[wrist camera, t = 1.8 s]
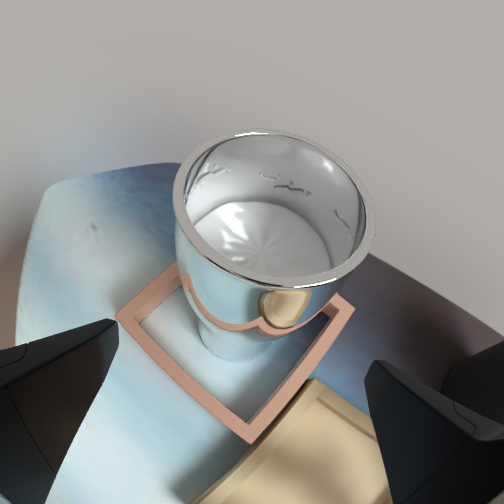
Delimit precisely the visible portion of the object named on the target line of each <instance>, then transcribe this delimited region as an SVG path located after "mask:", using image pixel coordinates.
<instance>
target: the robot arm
mask: <svg viewBox="0 0 504 504" xmlns="http://www.w3.org/2000/svg"><path fill="white" fill-rule="evenodd" d="M118 346H119V331H118V323H117V321H115V320H111V319H107V318H106V319H103V320H100V321H96V322H93V323H90V324H87V325H84V326H81V327H78V328H74V329H71V330H68V331H65V332H62V333H58V334H55V335H52V336H49V337H45V338H42V339H39V340H36V341H32V342H29V343H28V344H27V343H25V344H22V345H19V346H15V347H12V348H8V349H4V350H0V504H45V501H46V499H47V497H48V494H49V492H50V489H51V487H52V485H53V482H54V480H55V478H56V475H57V473H58V471H59V469H60V466H61V464H62V462H63V460H64V458H65V456H66V454H67V451H68V449H69V447H70V445H71V443H72V441H73V439H74V437H75V435H76V433H77V431H78V429H79V427H80V425H81V423H82V421H83V419H84V417H85V416H86V414H87V412H88V410H89V408H90V406H91V404H92V402H93V400H94V399H95V397H96V395H97V393H98V391H99V389H100V388H101V386H102V384H103V382H104V380H105V378H106V375H107V373H108V370H109V368H110V366H111V363H112V361H113V358H114V356H115V354H116V351H117V349H118ZM364 384H365V389H366V395H367V400H368V406H369V411H370V416H371V420H372V424H373V427H374V431H375V434H376V438H377V441H378V445H379V449H380V452H381V456H382V460H383V464H384V468H385V472H386V476H387V480H388V484H389V489H390V493H391V497H392V502H393V504H504V425H501V424H499V423H497V422H494V421H492V420H490V419H488V418H486V417H483V416H481V415H479V414H477V413H475V412H473V411H471V410H469V409H467V408H465V407H464V406H462V405H460V404H458V403H456V402H455V401H452V400H451V399H449V398H448V397H446V396H444V395H442V394H441V393H439V392H437V391H435V390H434V389H432V388H430V387H429V386H427V385H425V384H423V383H422V382H420V381H418V380H417V379H415V378H413V377H412V376H410V375H408V374H406V373H405V372H403V371H401V370H400V369H398V368H396V367H395V366H393V365H391V364H390V363H388V362H386V361H385V360H375V361H373V362H372V364H371V366H370V368H369V370H368V372H367V374H366V377H365V380H364Z"/></svg>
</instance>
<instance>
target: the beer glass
mask: <svg viewBox="0 0 504 504" xmlns="http://www.w3.org/2000/svg"><path fill="white" fill-rule="evenodd" d="M173 207H174V235H175V252H176V259H177V266H178V272H179V276H180V280H181V283H182V286H183V290H184V293H185V295H186V298H187V300H188V302H189V303H190V305H191V307H192V308H193V310H194V312H195V313H196V315H197V316H198V330H199V334H200V337H201V339H202V341H203V343H204V344H205V346H206V347H207V348H208V349H209V350H210V351H211V352H212V353H213V354H215V355H216V356H218V357H220V358H222V359H224V360H227V361H232V362H244V361H249V360H252V359H255V358H257V357H259V356H260V355H262V354H263V353H264V352H265V351H266V350H267V349H268V348H269V347H270V345H271V344H272V342H273V341H276V340H279V339H281V338H283V337H286V336H288V335H290V334H292V333H294V332H296V331H297V330H299V329H300V328H301V327H303V326H304V325H305V324H307V323H308V322H309V321H311V320H312V319H313V318H314V317H316V316H317V315H318V314H319V313H320V312H321V311H322V309H323V308H324V307H325V306H326V305H327V304H328V303H329V302H330V301H331V300H332V299H333V298H334V296H335V295H336V294H337V292H338V291H339V290H340V289H341V287H342V286H343V285H344V283H345V282H346V281H347V279H348V278H349V276H350V275H351V274H352V272H353V271H354V269H355V268H356V267H358V266H359V264H360V263H361V262H362V261H363V260H364V258H365V257H366V255H367V254H368V252H369V250H370V247H371V246H372V242H373V240H374V236H375V229H376V228H375V227H376V218H375V211H374V206H373V203H372V200H371V197H370V195H369V193H368V190H367V188H366V187H365V185H364V183H363V182H362V180H361V179H360V177H359V176H358V175H357V173H356V172H355V171H354V170H353V169H352V168H351V167H350V166H349V165H348V164H347V163H346V162H345V161H344V160H343V159H342V158H340V157H339V156H338V155H336V154H335V153H334V152H332V151H331V150H329V149H328V148H326V147H324V146H323V145H321V144H319V143H317V142H315V141H313V140H310V139H308V138H306V137H303V136H300V135H297V134H294V133H290V132H286V131H281V130H273V129H257V128H256V129H242V130H237V131H231V132H228V133H224V134H221V135H218V136H216V137H214V138H212V139H210V140H208V141H206V142H204V143H203V144H201V145H200V146H198V147H197V148H196V149H195V150H194V151H193V152H192V153H190V155H189V156H188V157H187V158H186V159H185V160H184V162H183V163H182V165H181V166H180V168H179V170H178V172H177V175H176V178H175V181H174V186H173Z"/></svg>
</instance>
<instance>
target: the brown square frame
mask: <svg viewBox="0 0 504 504" xmlns="http://www.w3.org/2000/svg"><path fill="white" fill-rule="evenodd" d="M181 284H182V283H181V280H180V276H179V272H178V266H177V260H176V261H175V262H174V263H172V264H171V265H170V266H169V267H168V268H167V269H166V270H164V271H163V272H162V273H161V274H160V275H159V276H158V277H157V278H155V279H154V280H153V281H152V282H151V283H150V284H149V285H148V286H146V287H145V288H144V289H143V290H142V291H141V292H140V293H139V294H138V295H136V296H135V297H134V298H133V299H132V300H131V301H130V302H129V303H128V304H127V305H126V306H124V307H123V308H122V309H121V310H120V311H119V312H118V313H117V314H116V315H115V316H114V317H115V318H116V319H117V320H118V321H119V323H120V324H121V325H122V326H123V327H124V328H125V330H126V331H127V332H128V333H129V334H130V335H131V336H132V337H133V339H134V340H135V341H136V342H137V343H138V344H139V345H140V346H141V347H142V348H143V350H144V351H145V352H146V353H147V354H148V355H149V356H150V357H151V358H152V359H153V360H154V361H155V362H156V363H157V364H158V365H159V366H160V367H161V368H162V369H163V370H164V371H165V372H166V373H167V374H168V375H169V376H170V377H171V378H172V379H173V380H174V381H175V382H176V383H177V384H178V385H179V386H180V387H181V388H183V389H184V390H185V391H186V392H187V393H188V394H189V395H190V396H191V397H192V398H194V399H195V400H196V401H197V402H198V403H199V404H200V405H202V406H203V407H204V408H205V409H206V410H207V411H209V412H210V413H211V414H212V415H213V416H215V417H216V418H217V419H218V420H219V421H221V422H222V423H223V424H224V425H226V426H227V427H228V428H229V429H231V430H232V431H233V432H235V433H236V434H237V435H239V436H240V437H241V438H243V439H244V440H245V441H247V442H248V443H249V444H252V443H253V442H254V441H255V440H256V438H257V437H258V436H259V435H260V434H261V433H262V432H263V431H264V430H265V428H266V427H267V426H268V425H269V424H270V423H271V422H272V421H273V419H274V418H275V417H276V416H277V415H278V414H279V412H280V411H281V410H282V409H283V408H284V406H285V405H286V404H287V403H288V402H289V400H290V399H291V398H292V397H293V395H294V394H295V393H296V392H297V390H298V389H299V388H300V387H301V385H302V384H303V383H304V381H305V380H306V379H307V377H308V376H309V375H310V374H311V372H312V371H313V370H314V368H315V367H316V365H317V364H318V363H319V361H320V360H321V359H322V357H323V356H324V354H325V353H326V352H327V350H328V349H329V347H330V346H331V344H332V343H333V342H334V340H335V339H336V337H337V336H338V334H339V333H340V331H341V330H342V328H343V327H344V325H345V324H346V322H347V321H348V319H349V318H350V316H351V314H352V313H353V311H354V310H355V308H354V307H353V306H351V305H350V304H349V303H348V302H346V301H345V300H344V299H343V298H342V297H340V296H339V295H338V294H336V295H335V296H334V298H333V299H332V300H331V301H330V302H329V303H328V304H327V305H326V306H325V307H324V308H323V309H322V312H324V313H325V314H326V315H327V316H329V317H330V319H329V320H328V322H327V323H326V324H325V326H324V327H323V329H322V330H321V331H320V333H319V334H318V335H317V337H316V338H315V340H314V341H313V342H312V344H311V345H310V346H309V348H308V349H307V350H306V352H305V353H304V354H303V355H302V357H301V358H300V359H299V361H298V362H297V363H296V364H295V366H294V367H293V368H292V369H291V371H290V372H289V373H288V374H287V376H286V377H285V378H284V379H283V381H282V382H281V383H280V384H279V385H278V387H277V388H276V389H275V390H274V391H273V392H272V394H271V395H270V396H269V397H268V398H267V399H266V401H265V402H264V403H263V404H262V405H261V406H260V407H259V409H258V410H257V411H256V412H255V413H254V414H253V415H252V416H251V418H250V419H249V420H248V421H247V422H246V423H245V422H244V421H243V420H241V419H240V418H239V417H238V416H236V415H235V414H234V413H232V412H231V411H230V410H229V409H228V408H226V407H225V406H224V405H223V404H221V403H220V402H219V401H218V400H217V399H215V398H214V397H213V396H212V395H211V394H210V393H209V392H207V391H206V390H205V389H204V388H203V387H202V386H201V385H199V384H198V383H197V382H196V381H195V380H194V379H193V378H192V377H191V376H190V375H188V374H187V373H186V372H185V371H184V370H183V369H182V368H181V367H180V366H179V365H178V364H177V363H176V362H175V361H174V360H173V359H172V358H171V357H170V356H169V355H168V354H167V353H166V352H165V351H164V350H163V349H162V348H161V347H160V346H159V345H158V344H157V343H156V342H155V341H154V340H153V339H152V338H151V337H150V336H149V335H148V334H147V333H146V332H145V331H144V330H143V328H142V327H141V326H140V325H139V323H140V322H141V321H143V320H144V319H145V318H146V317H147V316H148V315H149V314H150V313H151V312H152V311H153V310H154V309H155V308H156V307H158V306H159V305H160V304H161V303H162V302H163V301H164V300H165V299H166V298H167V297H168V296H169V295H170V294H172V293H173V292H174V291H175V290H176V289H177V288H178V287H179V286H180V285H181Z"/></svg>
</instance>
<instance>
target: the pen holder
mask: <svg viewBox="0 0 504 504" xmlns="http://www.w3.org/2000/svg"><path fill="white" fill-rule="evenodd" d="M442 395H444V396H446V397H448V398H449V399H451V400H452V401H455V402H456V403H458V404H460V405H462V406H464V407H465V408H467V409H469V410H471V411H473V412H475V413H477V414H479V415H481V416H483V417H486V418H488V419H490V420H492V421H494V422H497V423H499V424H501V425H504V341H502V342H500V343H498V344H496V345H494V346H492V347H490V348H488V349H485V350H483V351H481V352H479V353H477V354H475V355H473V356H470V357H468V358H466V359H464V360H462V361H460V362H459V363H457V364H456V365H455V366H454V367H453V369H452V370H451V372H450V373H449V375H448V377H447V379H446V381H445V384H444V388H443V392H442Z"/></svg>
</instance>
